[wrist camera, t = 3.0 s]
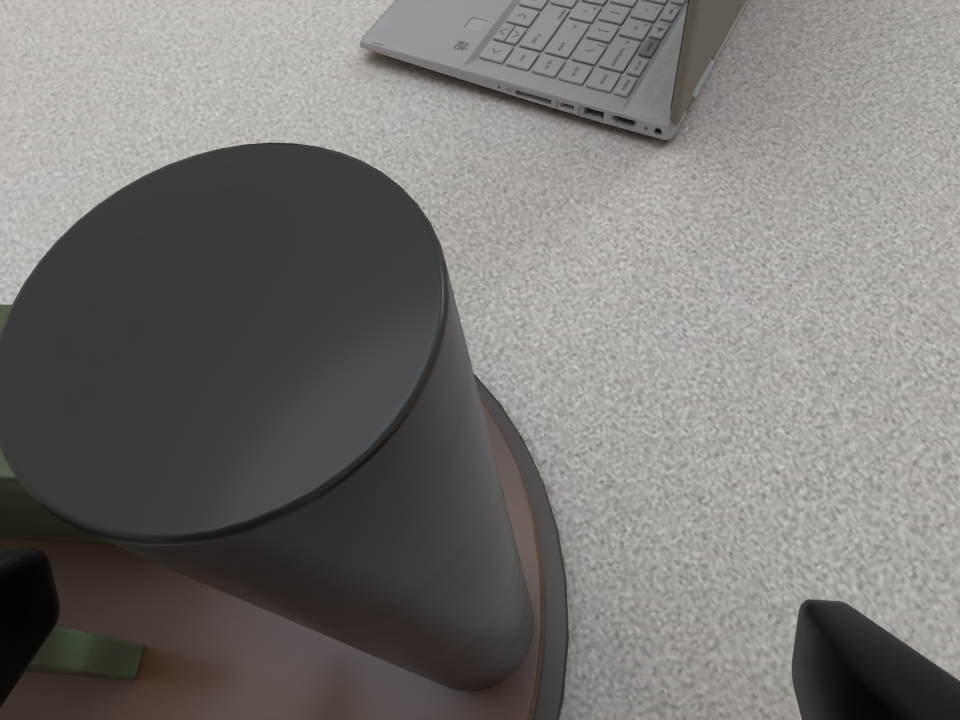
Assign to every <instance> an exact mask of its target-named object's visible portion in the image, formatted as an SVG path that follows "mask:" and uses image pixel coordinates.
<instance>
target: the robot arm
mask: <svg viewBox="0 0 960 720" xmlns="http://www.w3.org/2000/svg"><path fill="white" fill-rule="evenodd" d="M59 615H60V602H59V597H58V593H57V588H56V584H55V580H54V575H53V571H52V567H51V562H50V559H49V557H48V556H47V555H46V553H45V552H43V551H41V550H38V549H24V548H8V549H5V550H2V551H0V708H1V706H2V705H3V704H4V702H5V701H6V699H7V698H8V696H9V695H10V693H11V692H12V690H13V689H14V687H15V686H16V684H17V683H18V681H19V680H20V678H21V677H22V675H23V674H24V672H25V671H26V669H27V668H28V666H29V665H30V663H31V662H32V661H33V659H34V658H35V656H36V655H37V653H38V652H39V650H40V649H41V647H42V646H43V644H44V643H45V641H46V640H47V638H48V637H49V635H50V634H51V632H52V631H53V629H54V628H55V626H56V624H57V621H58V619H59ZM792 679H793V685H794V690H795V694H796V698H797V702H798V706H799V710H800V714H801V718H802V720H960V681H959V680H958V679H956V678H955V677H953V676H952V675H950V674H949V673H947V672H946V671H944V670H943V669H942V668H940V667H939V666H937V665H936V664H934V663H933V662H931V661H930V660H928V659H927V658H925V657H924V656H923V655H921V654H920V653H918V652H917V651H915V650H914V649H912V648H911V647H909V646H908V645H906V644H905V643H904V642H902V641H901V640H899V639H898V638H896V637H895V636H893V635H892V634H890V633H889V632H887V631H886V630H885V629H883V628H882V627H880V626H879V625H877V624H876V623H874V622H873V621H871V620H870V619H868V618H867V617H866V616H864V615H863V614H861V613H860V612H858V611H857V610H855V609H854V608H852V607H851V606H849V605H848V604H846V603H844V602H840V601H827V600H810V599H809V600H806V601H804V602H803V603H802V605H801V607H800V609H799V614H798V621H797V629H796V636H795V643H794V651H793V658H792Z"/></svg>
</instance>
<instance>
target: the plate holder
mask: <svg viewBox="0 0 960 720" xmlns="http://www.w3.org/2000/svg"><path fill="white" fill-rule="evenodd" d="M8 548H24V549H38V550H41V551H43V552H45V553H46V555H47V556H48V557H49V559H50V562H51V567H52V571H53V575H54V580H55V584H56V588H57V593H58V597H59V602H60V615H59V619H58V621H57V624H56V626H55V628H54V629H53V631H52V632H51V634H50V635H49V637H48V638H47V640H46V641H45V643H44V644H43V646H42V647H41V649H40V650H39V652H38V653H37V655H36V656H35V658H34V659H33V661H32V662H31V663H30V665H29V666H28V668H27V669H26V671H25V672H24V674H23V675H22V677H21V678H20V680H19V681H18V683H17V684H16V686H15V687H14V689H13V690H12V692H11V693H10V695H9V696H8V698H7V699H6V701H5V702H4V704H3V705H2V706H1V708H0V720H533V718H534V713H535V709H536V704H537V700H538V695H539V691H540V681H541V671H542V661H543V651H544V641H545V604H544V577H543V570H542V563H541V557H540V550H539V544H538V537H537V531H536V524H535V518H534V515H533V511H532V508H531V504H530V501H529V498H528V494H527V491H526V487H525V484H524V480H523V477H522V474H521V471H520V469H519V466H518V464H517V462H516V460H515V457H514V455H513V453H512V451H511V448H510V446H509V444H508V442H507V439H506V437H505V435H504V433H503V431H502V429H501V427H500V426H499V424H498V422H497V421H496V419H495V418H494V416H493V414H492V413H491V411H490V410H489V408H488V407H487V405H486V403H485V402H484V400H483V399H482V397H481V395H480V394H479V393H478V389H477V385H476V381H475V377H474V373H473V369H472V365H471V361H470V357H469V353H468V349H467V345H466V341H465V338H464V334H463V330H462V326H461V322H460V318H459V314H458V310H457V306H456V302H455V298H454V294H453V290H452V286H451V282H450V278H449V274H448V270H447V266H446V262H445V259H444V255H443V252H442V248H441V244H440V242H439V240H438V238H437V236H436V233H435V231H434V229H433V227H432V225H431V223H430V221H429V220H428V218H427V217H426V216H425V214H424V213H423V211H422V210H421V208H420V207H419V205H418V204H417V203H416V202H415V201H414V200H413V199H412V198H411V197H410V196H409V195H408V194H407V193H406V192H405V190H404V189H403V188H402V187H400V186H399V185H398V184H397V183H395V182H394V181H393V180H391V179H390V178H389V177H388V176H386V175H385V174H384V173H382V172H381V171H379V170H377V169H375V168H374V167H372V166H370V165H368V164H367V163H365V162H363V161H361V160H358V159H356V158H353V157H351V156H348V155H346V154H343V153H340V152H337V151H333V150H329V149H325V148H321V147H316V146H309V145H302V144H294V143H260V144H246V145H239V146H233V147H227V148H221V149H217V150H213V151H209V152H205V153H202V154H198V155H194V156H191V157H188V158H186V159H183V160H180V161H177V162H174V163H172V164H169V165H167V166H165V167H162V168H160V169H158V170H156V171H154V172H151V173H149V174H147V175H145V176H143V177H141V178H139V179H138V180H136V181H134V182H132V183H131V184H129V185H127V186H125V187H123V188H122V189H120V190H119V191H117V192H116V193H114V194H113V195H111V196H110V197H108V198H107V199H105V200H104V201H102V202H101V203H99V204H98V205H97V206H96V207H94V208H93V209H92V210H91V211H89V212H88V213H87V214H86V215H84V216H83V217H82V218H81V219H80V220H78V221H77V222H76V223H75V224H74V225H73V226H72V227H71V228H70V229H69V230H68V231H67V232H66V233H65V234H64V235H63V236H62V237H61V238H60V239H58V240H57V242H56V243H55V244H54V245H53V246H52V247H51V249H50V250H49V251H48V252H47V253H46V254H45V256H44V257H43V258H42V259H41V260H40V261H39V263H38V264H37V266H36V267H35V268H34V270H33V271H32V273H31V274H30V276H29V277H28V279H27V280H26V281H25V283H24V284H23V286H22V288H21V290H20V291H19V293H18V295H17V297H16V299H15V301H14V302H13V304H12V305H0V551H2V550H5V549H8Z"/></svg>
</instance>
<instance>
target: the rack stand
mask: <svg viewBox="0 0 960 720" xmlns="http://www.w3.org/2000/svg"><path fill="white" fill-rule="evenodd" d="M474 377H475V381H476V385H477V389H478V393H479V394H480V395H481V397H482V399H483V400H484V402H485V403H486V405H487V407H488V408H489V410H490V411H491V413H492V414H493V416H494V418H495V419H496V421H497V422H498V424H499V426H500V427H501V429H502V431H503V433H504V435H505V437H506V439H507V442H508V444H509V446H510V448H511V451H512V453H513V455H514V457H515V460H516V462H517V464H518V466H519V469H520V471H521V474H522V477H523V480H524V484H525V487H526V491H527V494H528V498H529V501H530V504H531V508H532V511H533V515H534V518H535V524H536V531H537V537H538V544H539V550H540V557H541V563H542V570H543V577H544V604H545V641H544V651H543V661H542V671H541V681H540V691H539V695H538V700H537V704H536V709H535V713H534V718H533V720H559V719H560V714H561V709H562V704H563V700H564V689H565V677H566V665H567V653H568V641H569V633H568V608H567V584H566V576H565V570H564V564H563V558H562V552H561V546H560V540H559V534H558V529H557V526H556V522H555V519H554V516H553V512H552V509H551V506H550V503H549V499H548V496H547V493H546V490H545V486H544V483H543V481H542V479H541V477H540V474H539V472H538V470H537V468H536V466H535V464H534V461H533V459H532V457H531V455H530V453H529V451H528V448H527V446H526V444H525V442H524V440H523V439H522V437H521V435H520V434H519V432H518V431H517V429H516V428H515V426H514V425H513V423H512V421H511V420H510V418H509V417H508V415H507V414H506V412H505V410H504V409H503V407H502V406H501V404H500V403H499V402H498V401H497V400H496V399H495V397H494V396H493V395H492V394H491V393H490V392H489V390H488V389H487V388H486V387H485V386H484V385H483V383H482V382H481V381H480V380H479V379H478V378H477V376H476V375H475V374H474Z"/></svg>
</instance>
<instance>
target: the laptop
mask: <svg viewBox="0 0 960 720" xmlns="http://www.w3.org/2000/svg"><path fill="white" fill-rule="evenodd" d="M748 1H749V0H395V1H394V2H393V3H392V5H391V6H390V7H389V8H388V9H387V10H386V11H385V13H384V14H383V15H382V16H381V17H380V18H379V20H378V21H377V22H376V23H375V24H374V25H373V26H372V28H371V29H370V30H369V31H368V32H367V33H366V34H365V36H364V37H363V38H362V40H361V43H360V46H361V47H362V48H364V49H368V50H371V51H374V52H377V53H380V54H383V55H386V56H389V57H392V58H396V59H399V60H402V61H405V62H408V63H411V64H414V65H418V66H421V67H424V68H427V69H430V70H433V71H436V72H440V73H443V74H446V75H449V76H452V77H455V78H458V79H462V80H465V81H468V82H471V83H474V84H477V85H481V86H484V87H487V88H490V89H493V90H497V91H500V92H503V93H506V94H509V95H513V96H516V97H519V98H522V99H525V100H529V101H532V102H535V103H538V104H542V105H545V106H548V107H551V108H554V109H558V110H561V111H564V112H568V113H571V114H574V115H578V116H581V117H585V118H588V119H591V120H595V121H598V122H601V123H605V124H608V125H612V126H615V127H619V128H623V129H626V130H630V131H633V132H637V133H640V134H644V135H648V136H651V137H655V138H659V139H662V140H670V139H672V138H673V137H674V135H675V133H676V131H677V130H678V128H679V126H680V125H681V123H682V121H683V119H684V118H685V116H686V110H687V108H688V106H689V104H690V102H691V101H692V100H693V99H695V98H696V96H697V95H698V93H699V91H700V89H701V87H702V86H703V84H704V82H705V80H706V78H707V76H708V75H709V73H710V71H711V69H712V67H713V65H714V64H715V61H716V59H717V58H718V56H719V54H720V52H721V50H722V48H723V47H724V45H725V43H726V41H727V39H728V38H729V36H730V34H731V32H732V30H733V28H734V27H735V25H736V23H737V21H738V19H739V17H740V16H741V14H742V12H743V10H744V8H745V7H746V5H747V3H748Z"/></svg>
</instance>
